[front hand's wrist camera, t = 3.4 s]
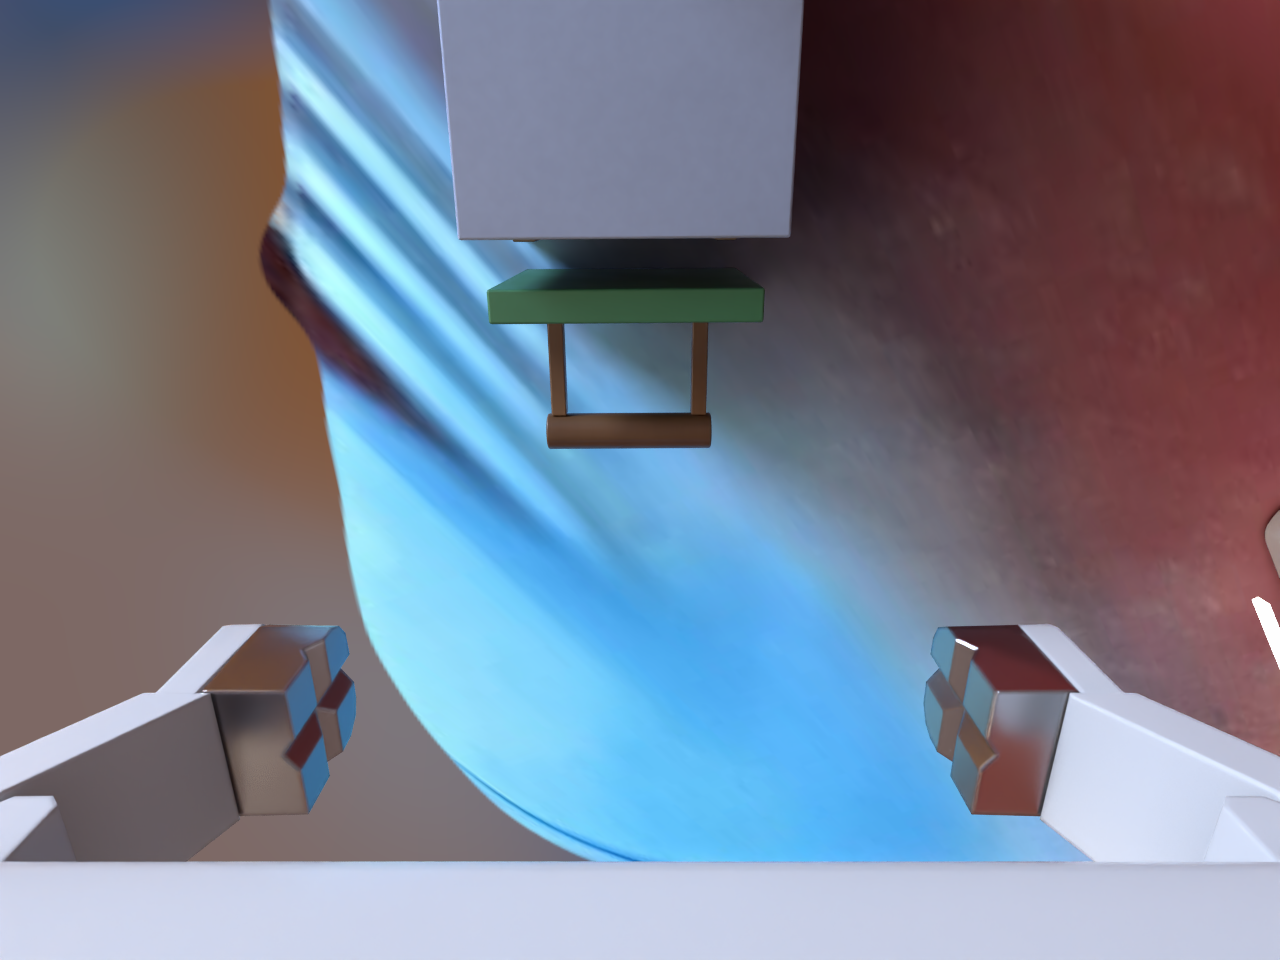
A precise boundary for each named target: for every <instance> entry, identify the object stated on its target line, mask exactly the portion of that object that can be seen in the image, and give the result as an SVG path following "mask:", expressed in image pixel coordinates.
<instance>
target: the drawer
mask: <svg viewBox="0 0 1280 960" xmlns="http://www.w3.org/2000/svg"><path fill="white" fill-rule="evenodd" d="M714 239H716V240H736V239H737V238H714ZM513 241H514V242H535V241H538V240H513ZM764 297H765V289H764V288H763V287H762V286H760V285H759V284H757V283H756V282H754V281H753V280H752V279H750V278H749V277H747V276H746V275H744V274H743V273H741V272H740V271H739V270H737V269H736V268H647V269H527V270H525V271H523V272H521V273H519V274H517V275H516V276H514V277H512V278H510V279H508V280H506V281H504V282H502V283H501V284H499V285H497V286H495V287H493V288H491V289H489V290H487V301H488V314H489V322H490V324H547V329H548V349H549V368H550V388H551V408H552V413H550V414H548V417H547V426H546V434H547V444H548V447H549V448H550V449H600V448H709V447H710V446H711V415H710V413H706V395H707V351H708V323H717V322H762V321H763V318H764ZM580 323H692V341H691V406H690V411H691V413H567V412H568V401H567V378H566V355H565V331H564V324H580Z"/></svg>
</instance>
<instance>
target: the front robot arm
mask: <svg viewBox="0 0 1280 960" xmlns="http://www.w3.org/2000/svg"><path fill="white" fill-rule="evenodd" d="M1265 541H1266V544H1267V547H1268V549H1269V552H1270V555H1271V557H1272V560H1273V562H1274V565H1275V568H1276V570H1277V573H1278V576H1279V578H1280V510H1279V511H1278V512H1277V513H1276V514H1275V515H1274V516H1273V518H1272V519H1271V520H1270V522H1269V523H1268V525H1267V527H1266V530H1265ZM1252 601H1253V604H1254V606H1255V609H1256V611H1257V614H1258V616H1259V618H1260V621H1261V623H1262V626H1263V628H1264V631H1265V633H1266V636H1267V638H1268V641H1269V643H1270V646H1271V648H1272V651H1273V653H1274V656H1275V658H1276V660H1277V663H1278V665H1279V668H1280V629H1279V626H1278V624H1277V621H1276V619H1275V616H1274V614H1273V611H1272V609H1271V606H1270V604H1268V603H1267V602H1265V601H1264V600H1262V599H1261V598H1259V597H1257V598H1255V599H1253V600H1252ZM348 656H349V649H348V644H347V639H346V634H345V632H344V631H343V630H342V629H341V628H340V627H339V626H314V625H264V624H238V625H228V626H223V627H222V628H221V629H220V630H219V631H218V632H217V633H216V634H215V635H214V636H213V637H212V638H211V639H210V640H209V641H208V642H207V643H206V644H205V645H204V646H203V647H202V648H201V649H200V650H199V651H198V652H197V653H196V654H195V655H194V656H193V657H192V658H191V659H189V661H187V662H186V663H185V664H184V665H183V666H182V667H181V668H180V669H179V670H178V671H177V672H176V673H175V674H174V675H173V676H172V677H171V678H170V679H169V680H168V681H167V682H166V683H165V684H164V685H163V686H162V687H161V688H160V689H159V690H158V691H157V692H156V693H143V694H140V695H138V696H136V697H134V698H131V699H129V700H127V701H124V702H122V703H120V704H118V705H115V706H113V707H111V708H109V709H107V710H104V711H102V712H100V713H97V714H95V715H93V716H91V717H88V718H86V719H84V720H82V721H79V722H77V723H75V724H73V725H70V726H68V727H66V728H64V729H61V730H59V731H57V732H54V733H52V734H50V735H48V736H45V737H43V738H41V739H39V740H36V741H34V742H32V743H30V744H27V745H25V746H23V747H21V748H18V749H16V750H14V751H12V752H9V753H7V754H5V755H2V756H0V960H1280V757H1279V756H1277V755H1275V754H1273V753H1270V752H1268V751H1266V750H1264V749H1261V748H1259V747H1257V746H1255V745H1252V744H1250V743H1248V742H1246V741H1243V740H1241V739H1239V738H1237V737H1234V736H1232V735H1230V734H1228V733H1225V732H1223V731H1221V730H1219V729H1216V728H1214V727H1212V726H1210V725H1207V724H1205V723H1203V722H1201V721H1198V720H1196V719H1194V718H1192V717H1189V716H1187V715H1185V714H1183V713H1180V712H1178V711H1176V710H1173V709H1171V708H1169V707H1167V706H1164V705H1162V704H1160V703H1158V702H1155V701H1153V700H1151V699H1149V698H1146V697H1144V696H1142V695H1140V694H1137V693H1124V692H1123V691H1122V690H1121V689H1120V688H1119V687H1118V686H1117V685H1116V684H1115V683H1114V682H1113V681H1112V680H1111V679H1110V678H1109V677H1108V676H1107V675H1106V674H1105V673H1104V672H1103V671H1102V670H1101V669H1100V668H1099V667H1098V666H1097V665H1096V664H1095V663H1094V662H1093V661H1092V660H1091V659H1090V658H1089V657H1088V656H1087V655H1086V654H1085V653H1084V652H1083V651H1082V650H1081V649H1080V648H1079V647H1078V646H1077V645H1076V644H1075V643H1074V642H1073V641H1072V640H1071V639H1070V638H1069V637H1068V636H1067V635H1066V634H1065V633H1064V632H1063V631H1062V630H1061V629H1060V628H1059V627H1056V626H1053V625H1051V624H1029V625H996V626H956V627H938V629H937V631H936V633H935V635H934V637H933V643H932V648H931V656H932V657H933V659H934V660H935V662H936V663H937V665H938V667H939V669H938V670H937V671H936V672H935V673H934V674H933V675H932V676H931V677H930V678H929V679H928V681H927V682H926V687H925V696H924V712H925V722H926V726H927V730H928V733H929V736H930V739H931V741H932V743H933V745H934V746H935V748H936V750H937V752H939V753H940V754H942V755H943V756H945V757H946V758H948V759H949V760H951V761H952V762H953V763H952V769H951V775H950V776H951V778H952V780H953V782H954V783H955V785H956V787H957V789H958V791H959V792H960V794H961V796H962V798H963V800H964V801H965V803H966V805H967V807H968V809H969V810H970V812H971V814H979V815H1015V816H1041V817H1040V820H1042V821H1043V822H1044V823H1045V824H1047V825H1048V826H1049V827H1050V828H1052V829H1053V830H1054V831H1056V832H1057V833H1058V834H1059V835H1061V836H1062V837H1063V838H1064V839H1066V840H1067V841H1068V842H1070V843H1071V844H1072V845H1073V846H1075V847H1076V848H1077V849H1079V850H1080V851H1081V852H1082V853H1084V854H1085V855H1086V856H1087V857H1089V858H1090V859H1091V860H1093V861H1094V862H186V861H188V860H189V859H190V858H191V857H193V856H194V855H195V854H197V853H198V852H199V851H200V850H202V849H203V848H204V847H206V846H207V845H208V844H209V843H211V842H212V841H213V840H215V839H216V838H217V837H218V836H220V835H221V834H222V833H223V832H225V831H226V830H227V829H229V828H230V827H231V826H232V825H234V824H235V823H236V822H237V821H239V820H240V817H239V816H263V815H299V814H309V812H310V811H311V809H312V807H313V805H314V803H315V801H316V800H317V798H318V796H319V794H320V792H321V791H322V789H323V787H324V785H325V783H326V782H327V780H328V778H329V776H330V775H329V769H328V763H327V762H328V761H329V760H331V759H332V758H334V757H335V756H337V755H338V754H340V753H341V752H343V750H344V748H345V746H346V744H347V742H348V740H349V739H350V737H351V733H352V729H353V724H354V720H355V716H356V694H355V687H354V682H353V681H352V679H351V678H350V677H349V676H348V675H347V674H346V673H345V672H344V671H343V670H342V669H341V667H342V665H343V663H344V662H345V660H346V659H347V657H348Z"/></svg>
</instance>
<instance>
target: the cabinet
mask: <svg viewBox="0 0 1280 960" xmlns="http://www.w3.org/2000/svg"><path fill="white" fill-rule="evenodd" d="M437 5H438V16H439V28H440V39H441V51H442V62H443V73H444V85H445V96H446V107H447V119H448V130H449V142H450V153H451V164H452V176H453V187H454V198H455V210H456V221H457V233H458V238H459V240H546V239H664V238H782V237H790V235H791V220H792V202H793V185H794V168H795V151H796V134H797V116H798V99H799V82H800V65H801V48H802V30H803V13H804V0H437Z"/></svg>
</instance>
